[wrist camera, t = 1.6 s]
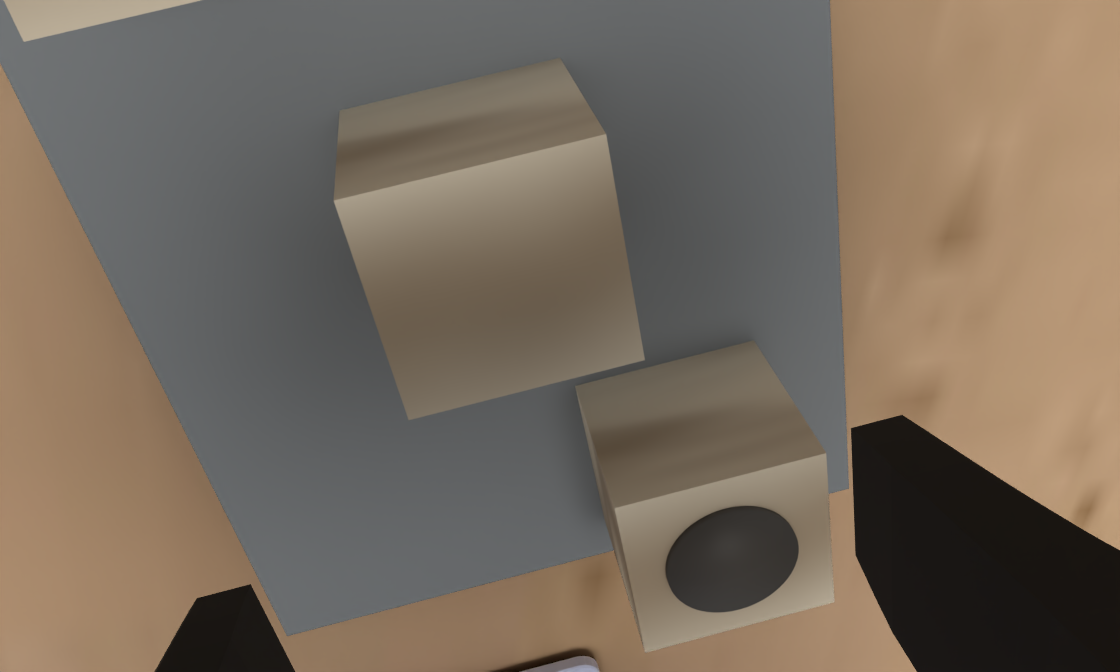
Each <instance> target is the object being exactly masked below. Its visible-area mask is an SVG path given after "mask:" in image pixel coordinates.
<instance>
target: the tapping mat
mask: <svg viewBox="0 0 1120 672" xmlns="http://www.w3.org/2000/svg"><path fill="white" fill-rule="evenodd" d="M557 58H560V59H561V60H562V62H563V64H564V65H565V67H566V69H567V70H568V72H569V74H570V75H571V77H572V78H573V80H574V82H575V83H576V85H577V87H578V88H579V90H580V92H581V93H582V95H583V97H584V98H585V100H586V102H587V103H588V105H589V107H590V108H591V110H592V112H593V113H594V115H595V116H596V118H597V120H598V121H599V123H600V125H601V126H602V128H603V130H604V131H605V133H606V136H607V142H608V148H609V154H610V159H611V165H612V171H613V177H614V183H615V189H616V194H617V200H618V206H619V212H620V218H621V224H622V229H623V235H624V241H625V247H626V253H627V259H628V264H629V270H630V276H631V282H632V288H633V294H634V299H635V305H636V311H637V317H638V323H639V329H640V334H641V340H642V346H643V352H644V358H645V360H643V361H639V362H636V363H632V364H628V365H624V366H620V367H616V368H612V369H608V370H604V371H600V372H596V373H592V374H588V375H584V376H581V377H577V378H573V379H569V380H565V381H561V382H557V383H553V384H549V385H545V386H541V387H537V388H533V389H530V390H526V391H522V392H518V393H514V394H510V395H506V396H502V397H498V398H494V399H490V400H486V401H482V402H478V403H475V404H471V405H467V406H463V407H459V408H455V409H451V410H447V411H443V412H439V413H435V414H431V415H427V416H423V417H420V418H416V419H412V420H408V417H407V414H406V411H405V408H404V405H403V402H402V399H401V396H400V393H399V390H398V388H397V385H396V382H395V379H394V376H393V373H392V370H391V367H390V364H389V361H388V358H387V355H386V352H385V349H384V347H383V344H382V341H381V338H380V335H379V332H378V329H377V326H376V323H375V320H374V317H373V314H372V311H371V309H370V306H369V303H368V300H367V297H366V294H365V291H364V288H363V285H362V282H361V279H360V276H359V273H358V271H357V268H356V265H355V262H354V259H353V256H352V253H351V250H350V247H349V244H348V241H347V238H346V235H345V233H344V230H343V227H342V224H341V221H340V218H339V215H338V212H337V209H336V206H335V203H334V187H335V172H336V157H337V142H338V127H339V112H340V110H345V109H349V108H353V107H357V106H361V105H365V104H369V103H374V102H378V101H382V100H386V99H390V98H394V97H399V96H403V95H407V94H411V93H415V92H419V91H424V90H428V89H432V88H436V87H440V86H444V85H449V84H453V83H457V82H461V81H465V80H469V79H474V78H478V77H482V76H486V75H490V74H494V73H498V72H503V71H507V70H511V69H515V68H519V67H523V66H528V65H532V64H536V63H540V62H544V61H548V60H553V59H557ZM0 63H1V65H2V67H3V69H4V71H5V73H6V75H7V77H8V79H9V81H10V83H11V85H12V87H13V89H14V91H15V93H16V95H17V97H18V99H19V101H20V103H21V105H22V107H23V109H24V111H25V113H26V115H27V117H28V119H29V121H30V123H31V125H32V127H33V129H34V131H35V133H36V135H37V137H38V139H39V141H40V143H41V145H42V147H43V149H44V151H45V153H46V155H47V157H48V159H49V161H50V163H51V165H52V167H53V169H54V171H55V173H56V175H57V177H58V179H59V181H60V183H61V185H62V187H63V189H64V191H65V193H66V195H67V197H68V199H69V201H70V203H71V205H72V207H73V209H74V211H75V213H76V215H77V217H78V219H79V221H80V223H81V225H82V227H83V229H84V231H85V233H86V235H87V237H88V239H89V241H90V243H91V245H92V247H93V249H94V251H95V253H96V255H97V257H98V259H99V261H100V263H101V265H102V267H103V269H104V271H105V273H106V275H107V277H108V279H109V281H110V283H111V285H112V287H113V289H114V291H115V293H116V295H117V297H118V299H119V301H120V303H121V305H122V307H123V309H124V311H125V313H126V315H127V317H128V319H129V321H130V323H131V325H132V327H133V329H134V331H135V333H136V335H137V337H138V339H139V341H140V343H141V345H142V347H143V349H144V351H145V353H146V355H147V357H148V359H149V361H150V363H151V365H152V367H153V369H154V371H155V373H156V375H157V377H158V379H159V381H160V383H161V385H162V387H163V389H164V391H165V393H166V395H167V397H168V399H169V401H170V403H171V405H172V407H173V409H174V411H175V413H176V415H177V417H178V419H179V421H180V423H181V425H182V427H183V429H184V431H185V433H186V435H187V437H188V439H189V441H190V443H191V445H192V447H193V449H194V451H195V453H196V455H197V457H198V459H199V461H200V463H201V465H202V467H203V469H204V471H205V473H206V475H207V477H208V479H209V481H210V483H211V485H212V487H213V489H214V491H215V493H216V495H217V497H218V499H219V501H220V503H221V505H222V507H223V509H224V511H225V513H226V515H227V517H228V519H229V521H230V523H231V525H232V527H233V529H234V531H235V533H236V535H237V537H238V539H239V541H240V543H241V545H242V547H243V549H244V551H245V553H246V555H247V557H248V559H249V561H250V563H251V565H252V567H253V569H254V571H255V573H256V575H257V577H258V579H259V581H260V583H261V585H262V587H263V589H264V591H265V593H266V595H267V597H268V599H269V601H270V603H271V605H272V607H273V609H274V611H275V613H276V615H277V617H278V619H279V621H280V623H281V625H282V627H283V629H284V631H285V633H286V635H287V636H289V635H293V634H297V633H301V632H305V631H308V630H312V629H316V628H320V627H324V626H327V625H331V624H335V623H339V622H343V621H346V620H350V619H354V618H358V617H362V616H366V615H369V614H373V613H377V612H381V611H385V610H388V609H392V608H396V607H400V606H404V605H407V604H411V603H415V602H419V601H423V600H426V599H430V598H434V597H438V596H442V595H445V594H449V593H453V592H457V591H461V590H464V589H468V588H472V587H476V586H480V585H484V584H487V583H491V582H495V581H499V580H503V579H506V578H510V577H514V576H518V575H522V574H525V573H529V572H533V571H537V570H541V569H544V568H548V567H552V566H556V565H560V564H563V563H567V562H571V561H575V560H579V559H582V558H586V557H590V556H594V555H598V554H601V553H605V552H609V551H613V550H614V549H613V546H612V542H611V539H610V536H609V533H608V529H607V526H606V523H605V519H604V514H603V510H602V505H601V501H600V496H599V492H598V487H597V483H596V478H595V474H594V469H593V465H592V460H591V456H590V451H589V447H588V442H587V438H586V433H585V429H584V424H583V420H582V415H581V411H580V406H579V402H578V397H577V392H576V388H575V386H577V385H581V384H585V383H589V382H593V381H597V380H600V379H604V378H608V377H612V376H616V375H620V374H624V373H628V372H632V371H636V370H640V369H644V368H647V367H651V366H655V365H659V364H663V363H667V362H671V361H675V360H679V359H683V358H687V357H691V356H695V355H698V354H702V353H706V352H710V351H714V350H718V349H722V348H726V347H730V346H734V345H738V344H742V343H746V342H749V341H753V340H754V341H755V343H756V345H757V346H758V348H759V349H760V351H761V352H762V354H763V355H764V357H765V359H766V360H767V362H768V363H769V365H770V366H771V368H772V369H773V371H774V372H775V374H776V376H777V377H778V379H779V380H780V382H781V383H782V385H783V386H784V388H785V390H786V391H787V393H788V394H789V396H790V397H791V399H792V400H793V402H794V404H795V405H796V407H797V408H798V410H799V411H800V413H801V414H802V416H803V418H804V419H805V421H806V422H807V424H808V425H809V427H810V428H811V430H812V432H813V433H814V435H815V436H816V438H817V439H818V441H819V442H820V444H821V446H822V447H823V449H824V450H825V452H826V457H827V475H828V494H830V493H834V492H837V491H841V490H845V489H849V479H848V454H847V428H846V402H845V377H844V351H843V326H842V300H841V275H840V249H839V224H838V198H837V173H836V147H835V122H834V96H833V71H832V45H831V20H830V0H201V1H196V2H192V3H188V4H184V5H179V6H175V7H171V8H167V9H162V10H158V11H154V12H149V13H145V14H141V15H137V16H132V17H128V18H124V19H120V20H115V21H111V22H107V23H102V24H98V25H94V26H90V27H85V28H81V29H77V30H73V31H68V32H64V33H60V34H55V35H51V36H47V37H43V38H38V39H34V40H30V41H26V42H24V41H23V39H22V37H21V35H20V33H19V31H18V29H17V27H16V25H15V23H14V21H13V19H12V17H11V14H10V12H9V10H8V8H7V6H6V4H5V2H4V0H0Z"/></svg>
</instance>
